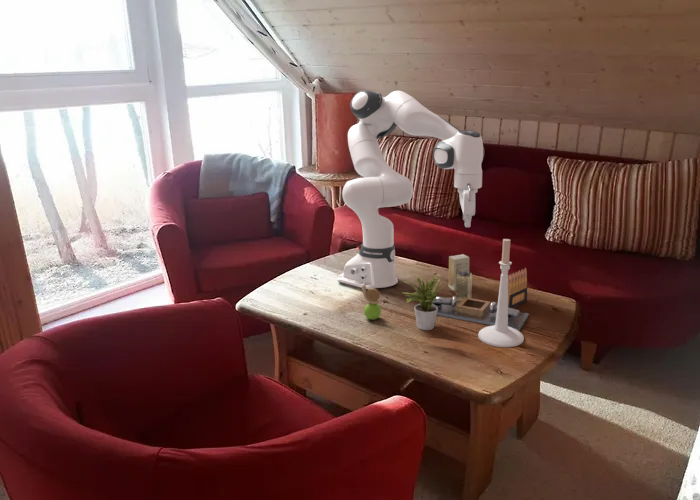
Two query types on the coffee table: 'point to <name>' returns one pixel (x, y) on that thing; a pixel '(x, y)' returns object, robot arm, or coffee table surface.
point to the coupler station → (478, 313)
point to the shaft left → (445, 301)
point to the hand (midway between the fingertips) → (466, 223)
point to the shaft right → (511, 312)
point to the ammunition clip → (517, 288)
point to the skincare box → (457, 268)
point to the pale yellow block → (463, 285)
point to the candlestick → (502, 311)
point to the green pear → (371, 303)
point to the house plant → (425, 303)
